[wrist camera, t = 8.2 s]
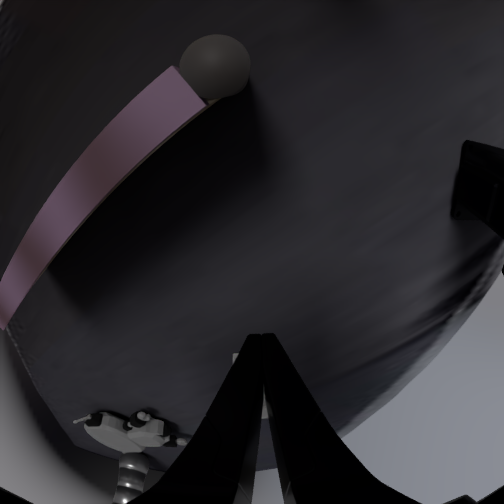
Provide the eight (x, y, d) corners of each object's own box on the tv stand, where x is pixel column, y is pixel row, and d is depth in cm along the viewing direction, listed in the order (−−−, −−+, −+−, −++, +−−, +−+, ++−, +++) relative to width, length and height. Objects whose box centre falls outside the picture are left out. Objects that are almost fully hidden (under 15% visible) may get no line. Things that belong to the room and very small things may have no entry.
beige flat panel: (232, 52, 13) (222, 22, 7) (255, 81, 14) (264, 72, 8) (31, 255, 19) (-15, 311, 13) (48, 272, 20) (5, 332, 14)
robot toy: (146, 393, 32) (76, 402, 34) (142, 422, 29) (69, 425, 30) (192, 429, 39) (123, 436, 40) (192, 453, 35) (120, 456, 36)
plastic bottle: (156, 455, 46) (147, 536, 29) (141, 458, 48) (132, 532, 31) (129, 445, 43) (116, 529, 26) (116, 448, 46) (103, 524, 29)
